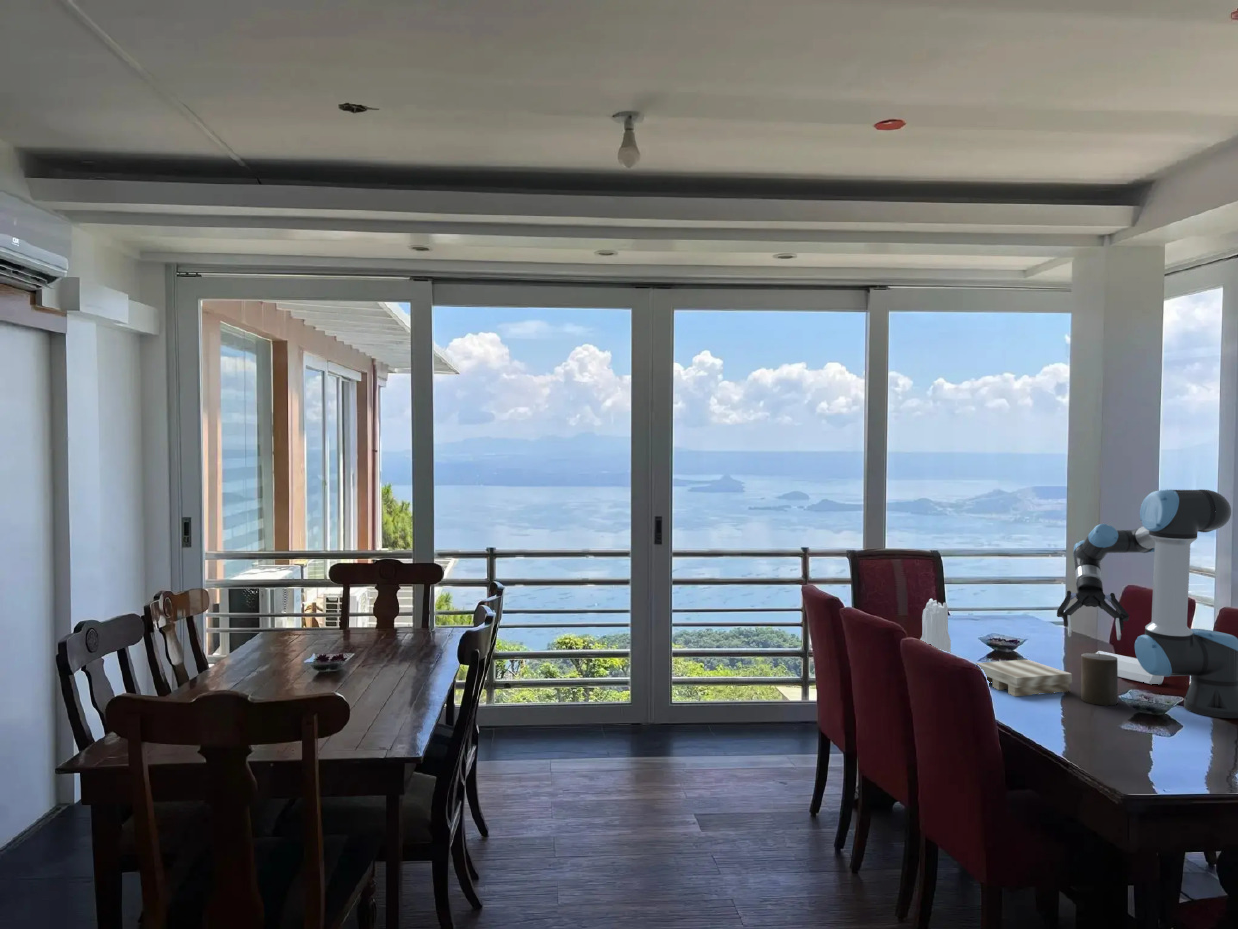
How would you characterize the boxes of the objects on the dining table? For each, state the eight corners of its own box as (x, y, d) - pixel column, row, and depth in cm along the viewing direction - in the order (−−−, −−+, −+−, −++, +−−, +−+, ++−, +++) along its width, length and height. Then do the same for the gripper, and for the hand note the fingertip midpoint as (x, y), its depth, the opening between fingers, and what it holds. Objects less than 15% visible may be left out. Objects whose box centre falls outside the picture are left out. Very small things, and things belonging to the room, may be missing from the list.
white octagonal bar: (1082, 660, 290) (1152, 675, 268) (1093, 648, 292) (1163, 662, 271) (1089, 677, 291) (1159, 694, 270) (1101, 665, 294) (1171, 680, 272)
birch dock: (1027, 677, 282) (1027, 659, 282) (1072, 692, 263) (1071, 673, 263) (975, 681, 278) (975, 663, 278) (1017, 697, 258) (1016, 678, 258)
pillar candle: (1103, 707, 247) (1103, 657, 247) (1073, 699, 256) (1073, 650, 256) (1125, 703, 251) (1125, 654, 251) (1095, 695, 260) (1095, 647, 260)
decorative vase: (953, 676, 284) (952, 603, 284) (919, 674, 288) (919, 601, 288) (951, 668, 295) (950, 598, 295) (919, 666, 298) (918, 597, 298)
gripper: (1131, 591, 274) (1139, 646, 261) (1046, 586, 284) (1049, 639, 271) (1133, 577, 269) (1141, 632, 256) (1047, 573, 279) (1050, 626, 266)
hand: (1094, 636), depth 263 cm, fingers open, 13 cm apart
